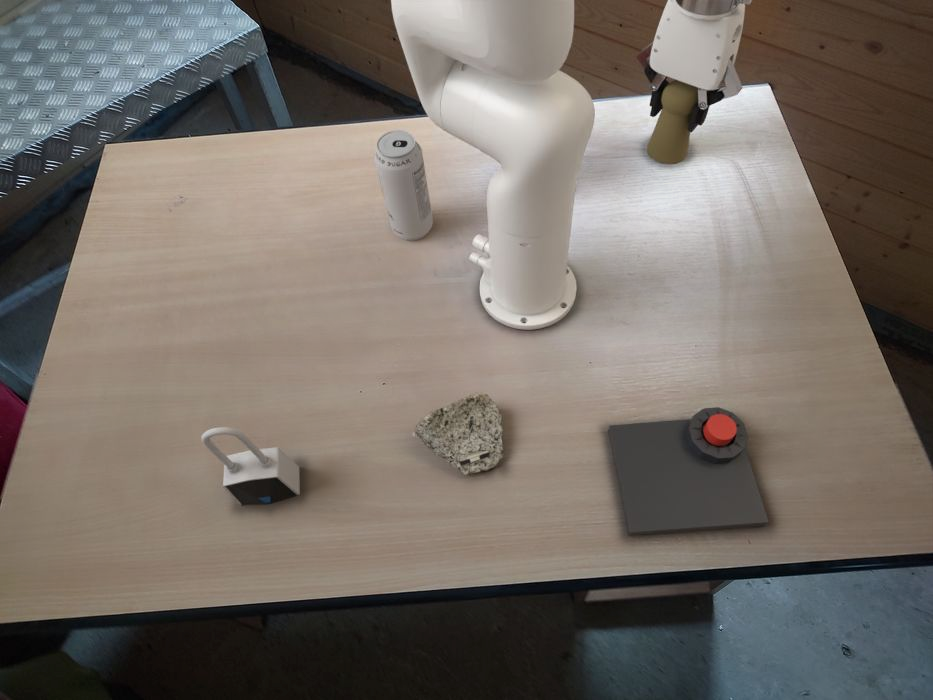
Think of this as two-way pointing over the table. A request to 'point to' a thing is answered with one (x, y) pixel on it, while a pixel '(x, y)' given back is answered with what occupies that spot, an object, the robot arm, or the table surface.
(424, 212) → the energy drink can
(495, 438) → the rock sample
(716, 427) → the tare button
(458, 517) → the table surface
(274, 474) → the padlock
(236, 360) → the table surface
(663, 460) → the grey flat block
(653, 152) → the pawn game piece
